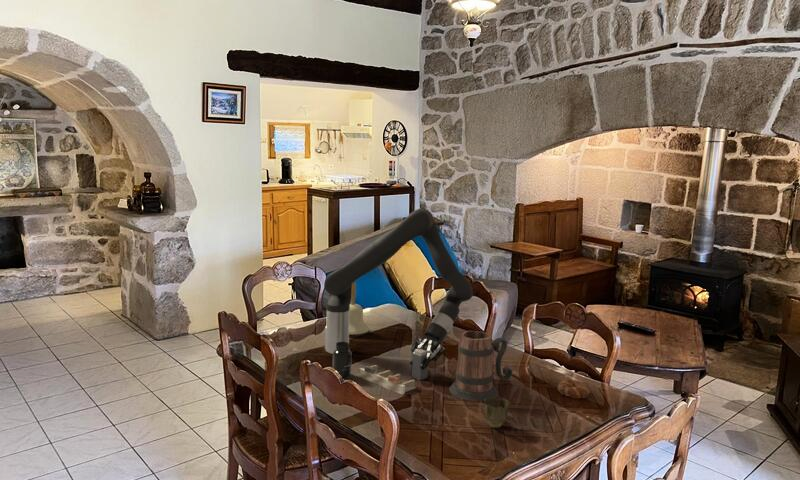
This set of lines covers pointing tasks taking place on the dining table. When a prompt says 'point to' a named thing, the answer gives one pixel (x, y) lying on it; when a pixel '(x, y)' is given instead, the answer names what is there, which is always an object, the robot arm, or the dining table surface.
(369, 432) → the dining table surface
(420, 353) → the grey tall block
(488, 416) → the cup
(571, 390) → the bread roll
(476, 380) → the tankard
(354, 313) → the handbell
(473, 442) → the dining table surface
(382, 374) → the dock
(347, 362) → the supplement bottle
